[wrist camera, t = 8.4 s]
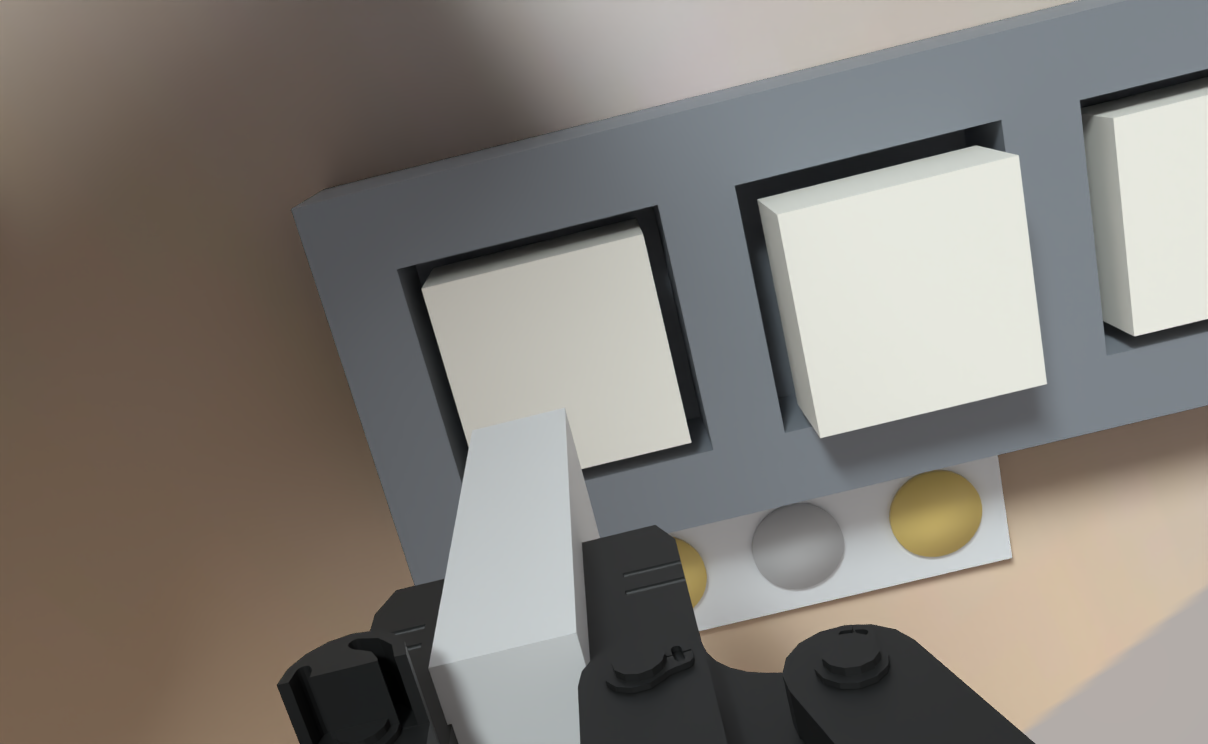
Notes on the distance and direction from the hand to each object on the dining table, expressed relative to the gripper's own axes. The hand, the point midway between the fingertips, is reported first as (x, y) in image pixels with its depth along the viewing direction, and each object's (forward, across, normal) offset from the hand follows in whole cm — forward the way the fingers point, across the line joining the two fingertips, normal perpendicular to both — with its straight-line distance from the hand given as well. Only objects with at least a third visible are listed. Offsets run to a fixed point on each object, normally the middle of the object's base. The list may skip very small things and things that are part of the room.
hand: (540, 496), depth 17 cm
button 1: (+11, 0, -1) cm, 11 cm away
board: (+12, +8, -1) cm, 15 cm away
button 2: (+9, +8, -1) cm, 12 cm away
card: (+12, +5, -8) cm, 16 cm away
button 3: (+11, +16, -1) cm, 19 cm away
